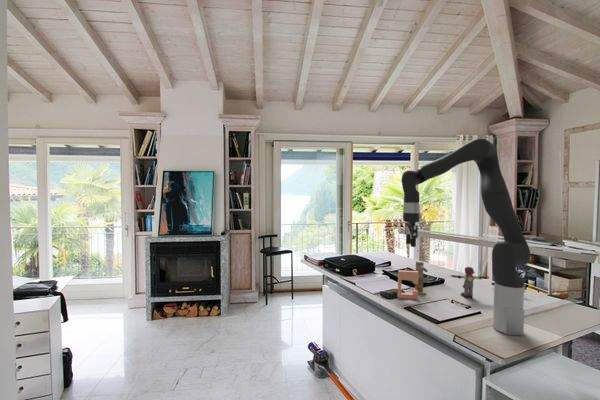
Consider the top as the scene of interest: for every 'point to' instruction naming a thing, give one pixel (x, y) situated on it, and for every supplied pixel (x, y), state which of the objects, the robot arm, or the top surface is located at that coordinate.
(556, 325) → the top surface
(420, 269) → the stand
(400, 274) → the tan c-shaped block
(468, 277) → the toy
